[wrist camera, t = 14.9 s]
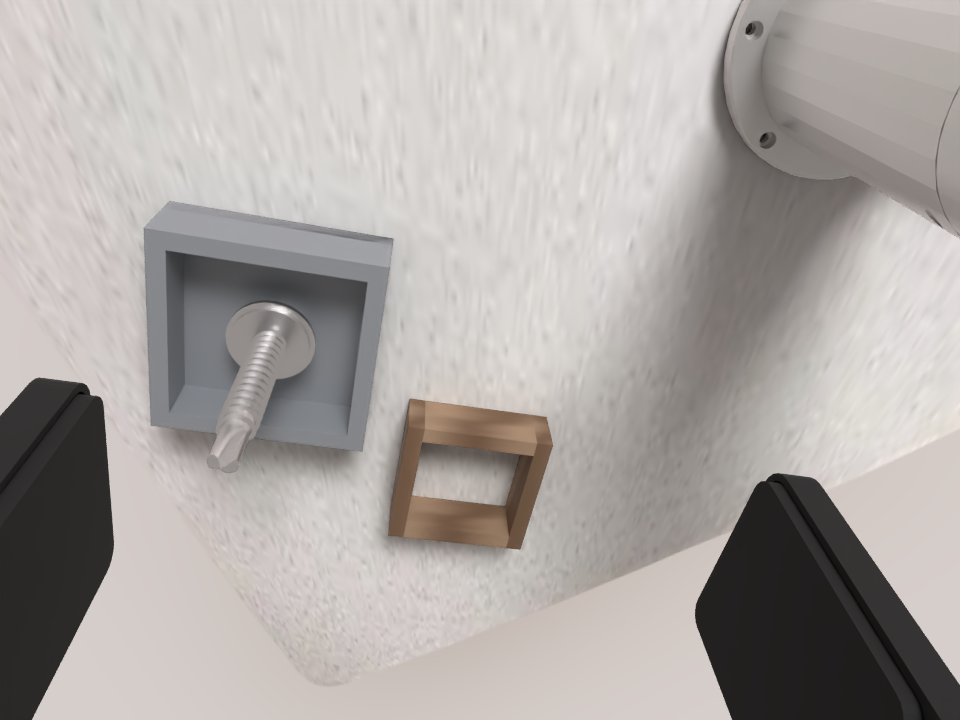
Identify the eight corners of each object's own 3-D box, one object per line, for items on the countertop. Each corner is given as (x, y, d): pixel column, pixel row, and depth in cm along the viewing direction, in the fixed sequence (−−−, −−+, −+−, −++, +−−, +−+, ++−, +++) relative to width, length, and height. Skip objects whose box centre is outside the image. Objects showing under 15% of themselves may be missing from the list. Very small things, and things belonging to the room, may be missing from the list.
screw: (218, 303, 40) (295, 274, 40) (261, 370, 43) (334, 344, 42) (136, 445, 29) (241, 407, 29) (201, 525, 32) (299, 492, 31)
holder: (546, 417, 47) (553, 445, 44) (516, 518, 51) (520, 549, 49) (410, 398, 46) (408, 426, 43) (390, 504, 50) (388, 535, 48)
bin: (393, 238, 40) (389, 267, 37) (367, 412, 46) (362, 451, 43) (169, 201, 38) (143, 228, 35) (172, 387, 44) (150, 425, 41)
